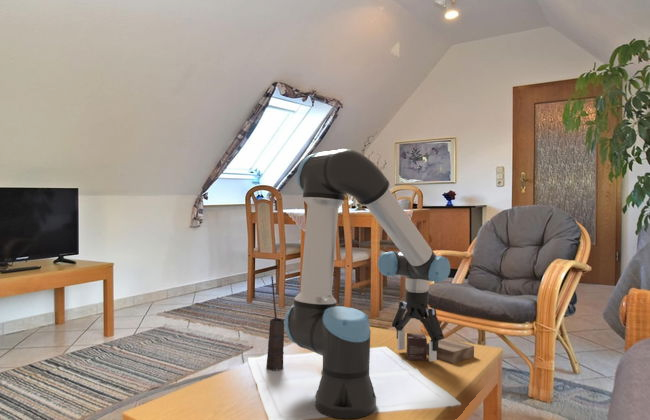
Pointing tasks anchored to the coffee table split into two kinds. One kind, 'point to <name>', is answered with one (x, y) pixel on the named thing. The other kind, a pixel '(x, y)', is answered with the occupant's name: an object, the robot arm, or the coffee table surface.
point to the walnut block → (453, 350)
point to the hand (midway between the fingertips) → (416, 354)
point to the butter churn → (275, 341)
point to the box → (416, 346)
